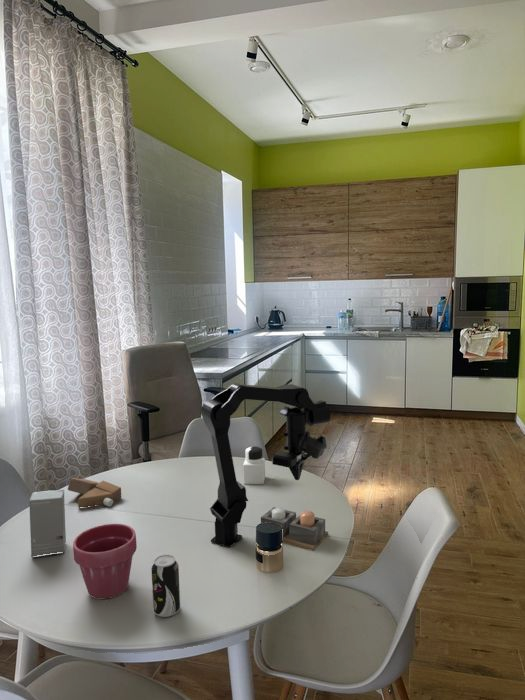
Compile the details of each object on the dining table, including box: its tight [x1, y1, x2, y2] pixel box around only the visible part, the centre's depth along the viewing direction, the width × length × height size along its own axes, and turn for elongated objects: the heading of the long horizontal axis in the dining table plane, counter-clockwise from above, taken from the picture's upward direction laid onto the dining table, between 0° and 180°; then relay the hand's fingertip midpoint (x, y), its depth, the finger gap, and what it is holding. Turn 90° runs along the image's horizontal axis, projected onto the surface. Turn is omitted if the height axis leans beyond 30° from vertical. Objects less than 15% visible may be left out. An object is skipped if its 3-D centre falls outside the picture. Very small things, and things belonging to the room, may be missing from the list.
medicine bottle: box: [242, 446, 266, 485], centre depth 185 cm, size 7×7×12 cm
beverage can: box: [151, 554, 181, 618], centre depth 113 cm, size 6×6×12 cm
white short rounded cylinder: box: [272, 507, 286, 520], centre depth 148 cm, size 4×4×5 cm
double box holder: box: [260, 506, 329, 552], centre depth 146 cm, size 10×17×5 cm, turn 60°
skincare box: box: [28, 489, 67, 557], centre depth 139 cm, size 8×7×16 cm
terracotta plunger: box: [299, 510, 315, 528], centre depth 143 cm, size 4×4×5 cm
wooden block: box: [67, 477, 122, 508], centre depth 171 cm, size 8×13×18 cm
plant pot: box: [72, 523, 137, 600], centre depth 122 cm, size 14×14×13 cm
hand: (297, 479), depth 153 cm, fingers closed
